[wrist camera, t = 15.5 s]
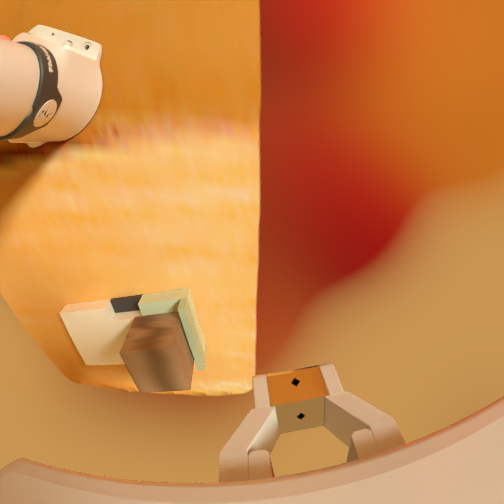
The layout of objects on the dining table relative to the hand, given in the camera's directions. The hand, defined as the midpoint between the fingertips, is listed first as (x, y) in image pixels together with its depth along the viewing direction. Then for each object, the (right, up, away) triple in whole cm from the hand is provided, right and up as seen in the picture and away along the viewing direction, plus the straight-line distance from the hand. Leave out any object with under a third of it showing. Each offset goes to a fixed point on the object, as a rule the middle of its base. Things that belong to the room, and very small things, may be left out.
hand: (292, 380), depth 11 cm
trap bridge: (-22, -8, +39) cm, 45 cm away
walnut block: (-15, -8, +36) cm, 40 cm away
